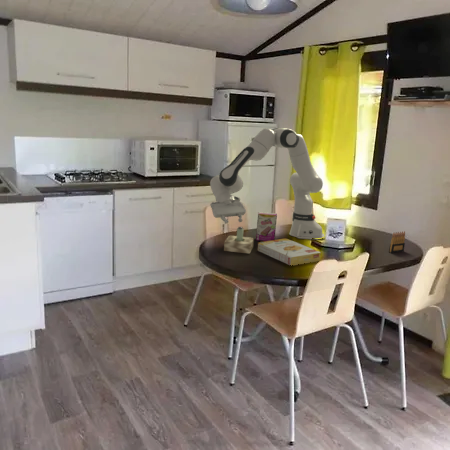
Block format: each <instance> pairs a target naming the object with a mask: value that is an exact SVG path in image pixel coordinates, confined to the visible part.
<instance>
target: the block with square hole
mask: <svg viewBox="0 0 450 450" xmlns="http://www.w3.org/2000/svg"><path fill="white" fill-rule="evenodd" d="M236 239H237V235H228V236H227V238H225V240H224V242H223V243H224V244H223V251H224V252H232V253H233V252H234V253H239V254H240V253H242V254H251V252H252V250H253V249H254V244H255V241H254V240H255V238H254V237H249V236H243V241H236Z"/></svg>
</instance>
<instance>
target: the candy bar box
mask: <svg viewBox="0 0 450 450" xmlns="http://www.w3.org/2000/svg"><path fill="white" fill-rule="evenodd" d="M277 218H278V214H277V213H275V212H274V213H273V212H265V211H264V212H263V211H258V212H257V223H256V231H255V232H256V234H255V241H260V242H265V241H271V240H276V231H277V230H276V229H277Z"/></svg>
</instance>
